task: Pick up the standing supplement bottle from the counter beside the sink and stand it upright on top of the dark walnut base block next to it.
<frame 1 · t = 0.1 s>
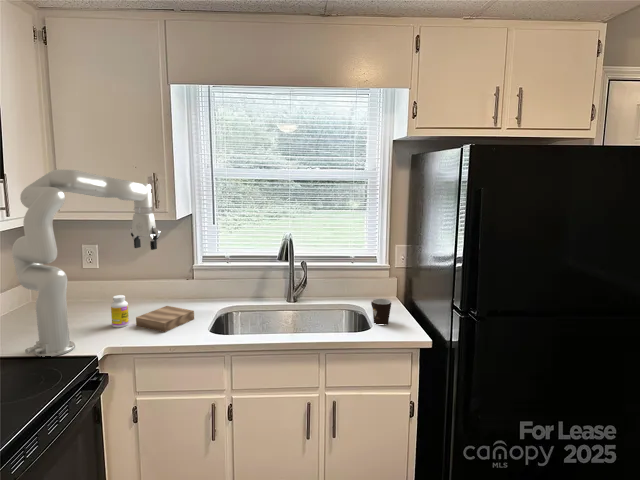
hand: (145, 248, 193), 31 cm above the countertop, tool pointing down, fingers open, 9 cm apart
supplement bottle: (120, 325, 184), on the countertop
coffee mug: (380, 322, 192), on the countertop
walnut base: (166, 322, 188), on the countertop
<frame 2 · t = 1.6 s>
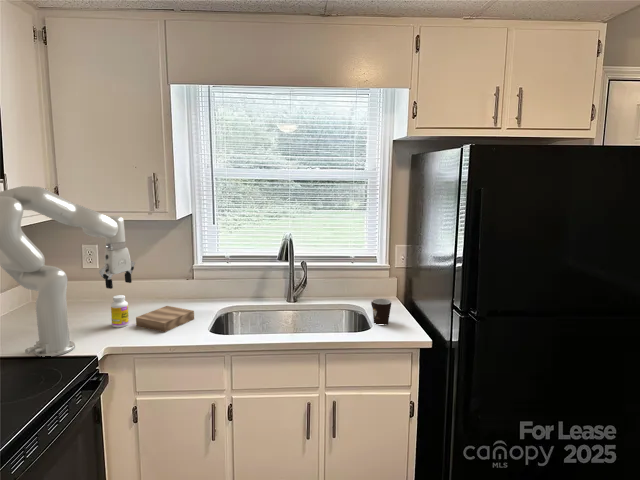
hand: (119, 285, 181), 18 cm above the countertop, tool pointing down, fingers open, 9 cm apart
nothing on the countertop moved.
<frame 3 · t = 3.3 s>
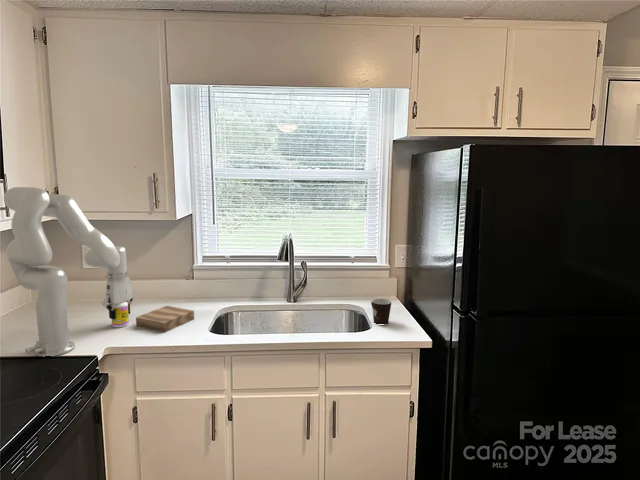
hand: (120, 315, 183), 4 cm above the countertop, tool pointing down, fingers closed on supplement bottle, 6 cm apart
supplement bottle: (120, 325, 184), on the countertop, touching gripper
everything else where it was.
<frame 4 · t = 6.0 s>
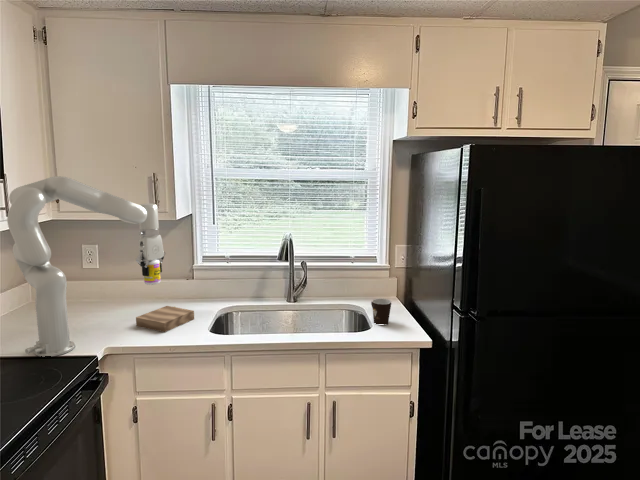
hand: (152, 273, 183), 22 cm above the countertop, tool pointing down, fingers closed on supplement bottle, 6 cm apart
supplement bottle: (152, 283, 184), point 18 cm above the countertop, touching gripper
everything else where it was.
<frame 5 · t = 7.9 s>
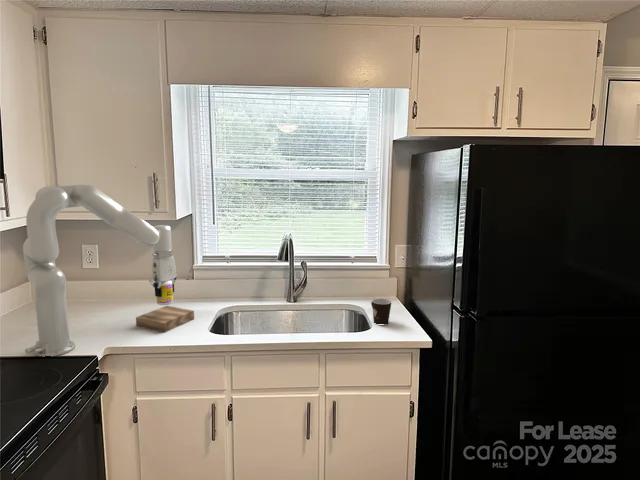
hand: (164, 294, 186), 13 cm above the countertop, tool pointing down, fingers closed on supplement bottle, 6 cm apart
supplement bottle: (165, 303, 186), point 9 cm above the countertop, touching gripper
everything else where it was.
when the fingers open (9 cm above the countertop, at t = 9.1 s): supplement bottle drops 1 cm, resting on walnut base.
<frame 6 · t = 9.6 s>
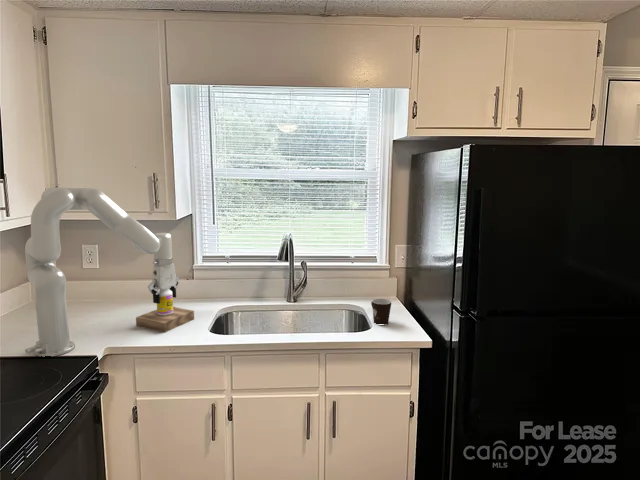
hand: (165, 300, 186), 10 cm above the countertop, tool pointing down, fingers open, 9 cm apart
supplement bottle: (165, 314, 187), point 4 cm above the countertop, touching walnut base
everything else where it was.
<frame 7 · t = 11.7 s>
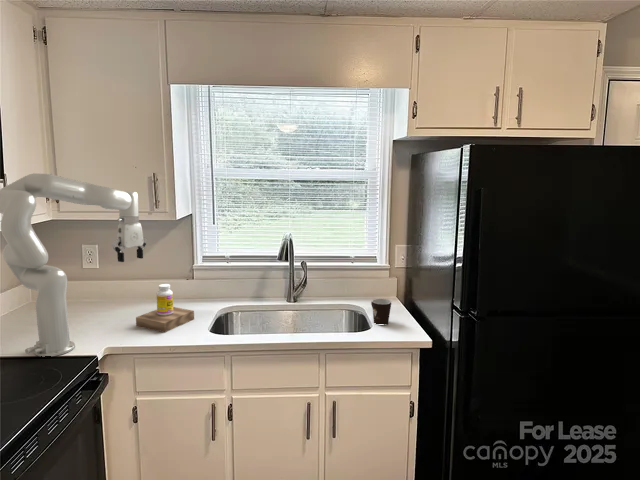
hand: (130, 259, 184), 28 cm above the countertop, tool pointing down, fingers open, 9 cm apart
nothing on the countertop moved.
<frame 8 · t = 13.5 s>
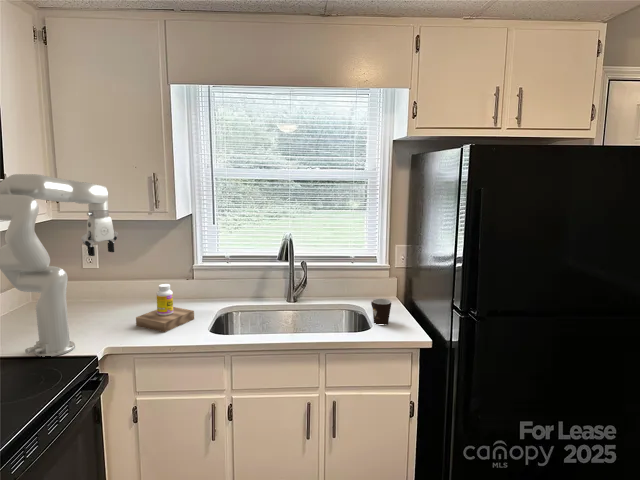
hand: (101, 253, 184), 30 cm above the countertop, tool pointing down, fingers open, 9 cm apart
nothing on the countertop moved.
at the end: supplement bottle inside the target area on the walnut base (0.2 cm from its centre), point 3.8 cm above the walnut base's base; supplement bottle tilted 0°; the gripper is holding nothing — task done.
